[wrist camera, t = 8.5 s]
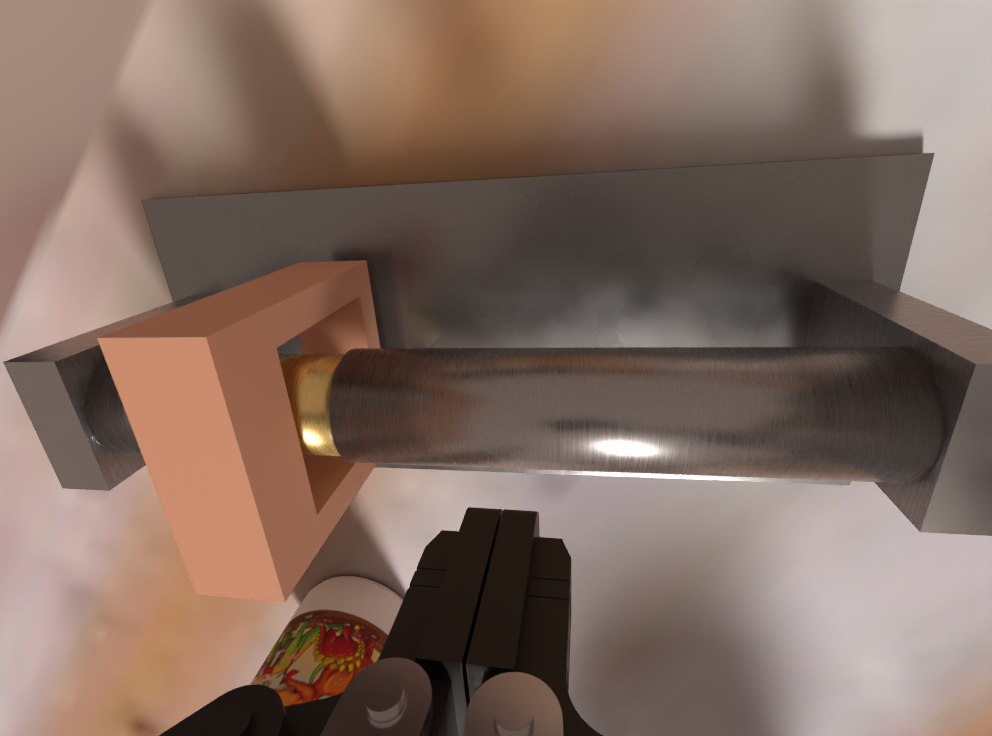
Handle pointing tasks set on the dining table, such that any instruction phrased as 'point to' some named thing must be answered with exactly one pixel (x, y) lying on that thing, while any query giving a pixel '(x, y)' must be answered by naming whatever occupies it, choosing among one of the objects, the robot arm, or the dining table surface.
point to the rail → (593, 332)
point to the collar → (242, 423)
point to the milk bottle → (330, 639)
